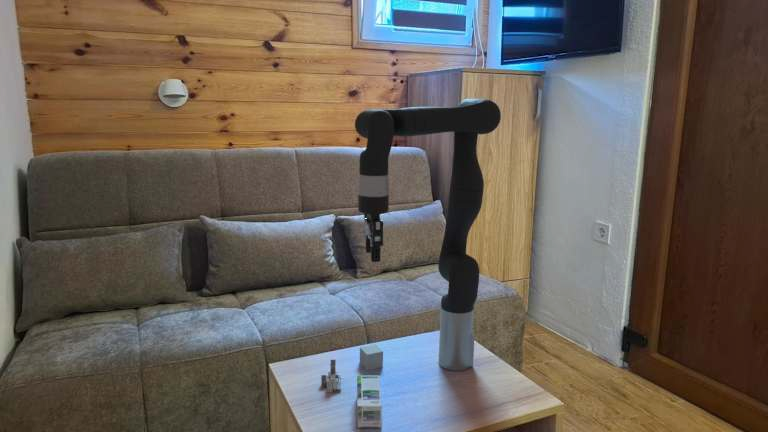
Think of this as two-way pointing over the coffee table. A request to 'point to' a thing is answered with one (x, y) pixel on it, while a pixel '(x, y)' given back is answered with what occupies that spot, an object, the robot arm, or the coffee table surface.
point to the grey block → (371, 357)
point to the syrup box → (369, 401)
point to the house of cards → (332, 379)
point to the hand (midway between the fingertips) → (372, 256)
